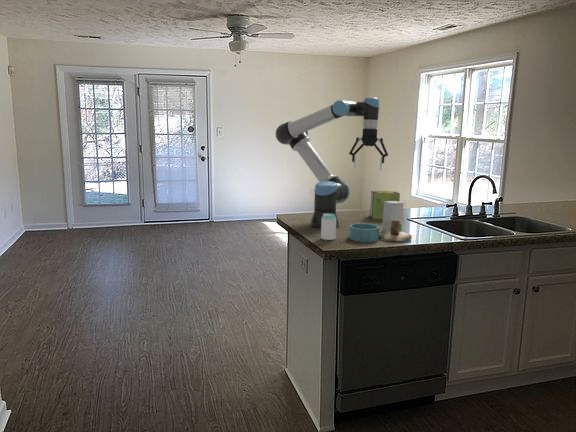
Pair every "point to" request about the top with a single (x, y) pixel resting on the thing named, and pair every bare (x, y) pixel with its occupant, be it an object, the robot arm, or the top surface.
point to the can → (328, 227)
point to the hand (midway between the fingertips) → (367, 168)
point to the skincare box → (392, 214)
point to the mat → (395, 241)
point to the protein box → (381, 202)
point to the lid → (395, 233)
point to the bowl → (364, 232)
